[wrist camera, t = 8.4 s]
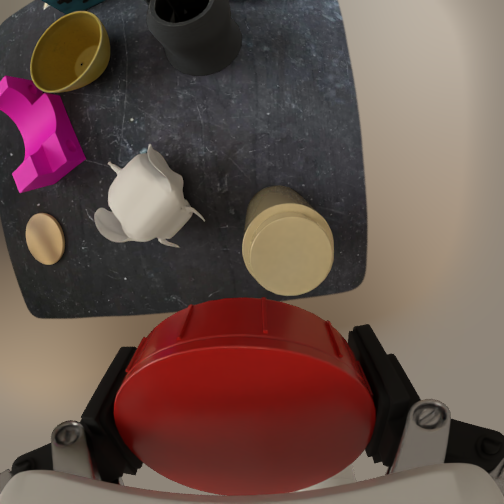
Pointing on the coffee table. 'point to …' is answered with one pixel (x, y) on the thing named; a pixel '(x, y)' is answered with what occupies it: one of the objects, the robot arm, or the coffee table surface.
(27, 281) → the coffee table surface
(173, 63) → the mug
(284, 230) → the jar
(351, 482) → the robot arm
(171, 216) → the elephant figurine
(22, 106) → the toy block
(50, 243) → the coaster
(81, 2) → the handheld gaming console
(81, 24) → the yellow bowl
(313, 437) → the lid
